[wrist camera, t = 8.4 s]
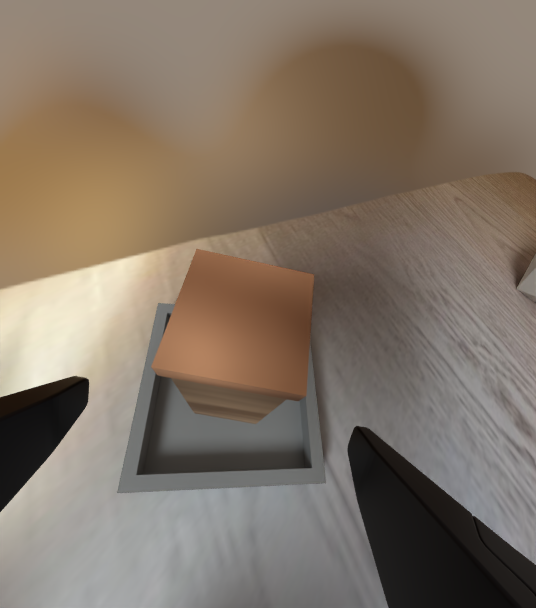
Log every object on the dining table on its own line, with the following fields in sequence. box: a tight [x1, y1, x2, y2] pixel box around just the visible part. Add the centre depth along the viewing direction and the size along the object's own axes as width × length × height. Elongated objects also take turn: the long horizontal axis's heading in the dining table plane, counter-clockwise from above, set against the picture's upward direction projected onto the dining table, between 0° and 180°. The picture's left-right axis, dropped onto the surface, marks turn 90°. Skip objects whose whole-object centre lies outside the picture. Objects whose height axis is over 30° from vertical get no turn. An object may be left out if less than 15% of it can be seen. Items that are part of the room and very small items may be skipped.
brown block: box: [151, 249, 314, 424], centre depth 14 cm, size 5×5×12 cm
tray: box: [117, 303, 326, 493], centre depth 19 cm, size 12×12×2 cm
